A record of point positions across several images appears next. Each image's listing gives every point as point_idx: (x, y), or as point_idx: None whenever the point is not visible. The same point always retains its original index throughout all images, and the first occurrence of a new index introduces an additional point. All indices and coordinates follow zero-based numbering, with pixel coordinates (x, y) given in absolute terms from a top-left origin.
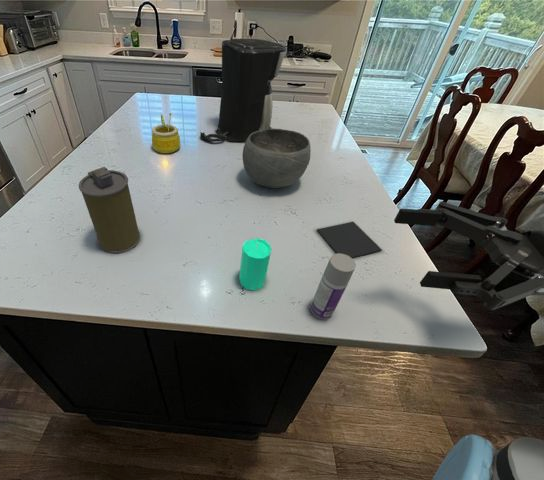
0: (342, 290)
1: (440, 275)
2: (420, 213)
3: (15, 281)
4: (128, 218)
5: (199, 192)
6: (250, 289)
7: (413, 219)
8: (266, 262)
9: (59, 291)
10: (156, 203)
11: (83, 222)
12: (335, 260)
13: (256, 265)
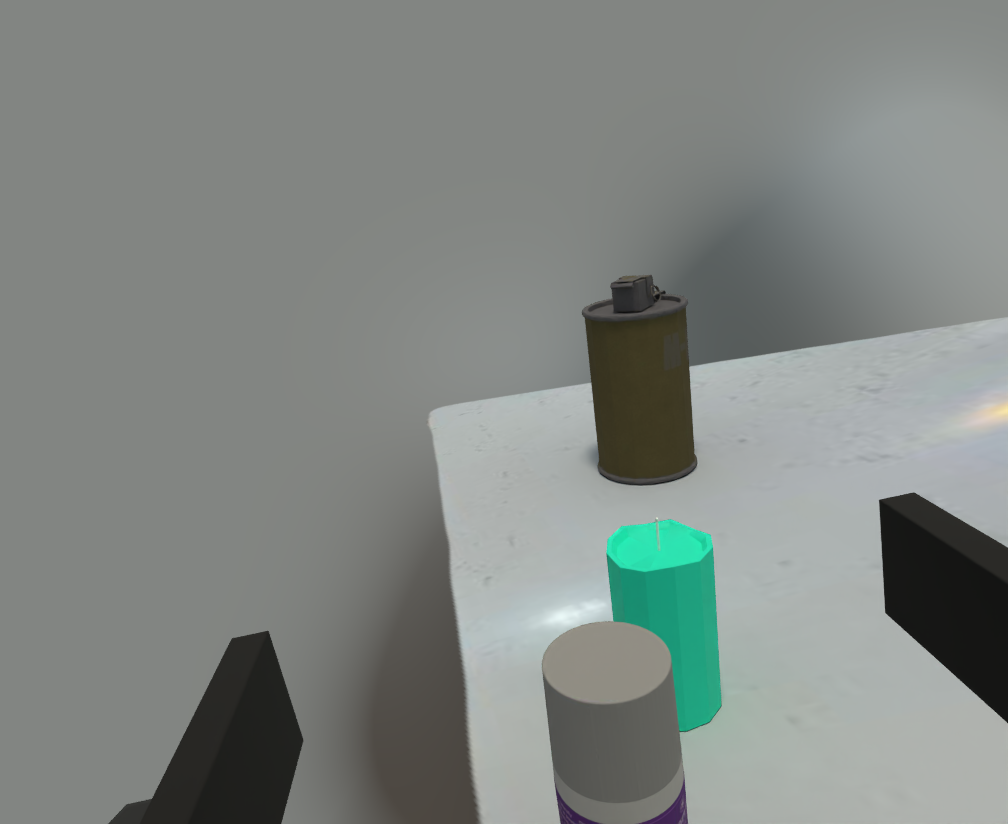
0: (572, 820)
1: (217, 676)
2: (984, 577)
3: (481, 436)
4: (636, 400)
5: (980, 487)
6: None
7: (967, 634)
8: (640, 603)
9: (477, 469)
10: (823, 455)
11: None
12: (603, 636)
13: (612, 588)
